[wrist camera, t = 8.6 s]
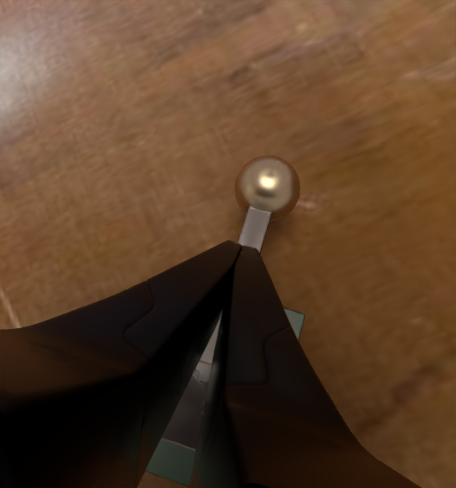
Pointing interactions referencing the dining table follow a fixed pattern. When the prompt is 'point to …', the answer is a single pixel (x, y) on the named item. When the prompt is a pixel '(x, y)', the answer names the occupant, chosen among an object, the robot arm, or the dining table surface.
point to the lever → (252, 234)
